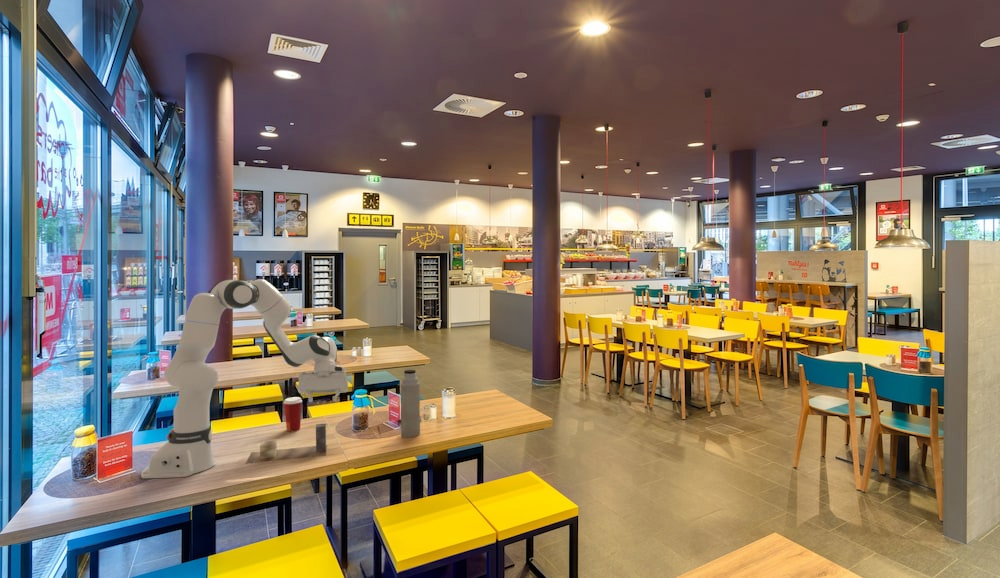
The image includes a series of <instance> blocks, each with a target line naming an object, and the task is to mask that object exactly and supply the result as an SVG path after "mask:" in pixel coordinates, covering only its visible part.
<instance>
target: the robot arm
mask: <svg viewBox="0 0 1000 578" xmlns="http://www.w3.org/2000/svg"><path fill="white" fill-rule="evenodd" d="M249 306H252V307H254V308H255V310H256V311H257V312H258V313H259V314H260V315H261V317H262V319H263V322H262V323H263V327H264V329H265V331H266V333H267V334H268V336H269V338H270V339H271V340H272V342H273V343H274V345H275V346H276V348H277V349H278V350H279V352H280V353H281V355H282V358H283V360H284V362H286V364H287V365H288V366H290V367H294V368H299V367H300V366H302V365H304V364H306V363H308V362H310V361H314V365H313V371H310V372H309V371H308V372H304V371H303V372H300V374H299V375H298V377H297V378H298V379H297V380H298V384H297V391H298V393H299V394H306V397H307V398H308V399H307V401H308V403H313V396H311V394H321V393H322V394H325V393H326V394H328V393H329V394H330V393H332V394H333V393H335V395H332V402H337V398H338V397H339V396H340V393H347V392H348V391H349V379H348V376H347V372H346V368H345V367H343V366H340V365H337V364H336V360H337V347H336V342H335V340H334V339H333V338H332V337H330V336H322V337H321V336H319V335H317V334H312V335H310V336H307V337H305V338H303V339H301V340H298V341H297V342H294V341H293V342H292V341H291V340H290V339H289V338H288V336H287V334H286V333H285V331H284V330H283V328H282V325H283V324H284V323H285V321H287V319H288V318H289V315H290V313H291V304H290V302H289V301H288V300H287V298H286V297H285V296H284V295H283V294H282V293H281V292H280V291H279V290H278V288H276V287H275V286H274V285H273V284H272V283H271V282H268V281H267V280H266V279H264V278H258V279H255V280H253V281H251V282H248V281H246V280H241V279H240V280H239V279H238V280H237V279H225V280H221V281H217V282H216V283H215V284H214V285H213V286H212V287H211V289H209V290H208V292H200V293H197V294H195V295H194V296H193V297H192V298H191V301H190V304H189V306H188V308H187V312H186V314H185V319H184V323H183V328H182V331H181V335H180V340H179V343H178V345H177V348H176V350H175V352H174V354H173V356H172V359H171V361H170V363H169V364H167V365H166V367H165V368H164V372H163V376H164V380H165V381H166V382H167V383H168V384H169V385H170V386H171V387H173V388H174V389H178V396H177V401H176V404H175V407H174V408H173V428H172V429H171V430H169V433H168V434H167V435H166V440H167V442H166V443H164V444H163V445H162V446H161V447H160V448H158V449H157V450H156V451H155V452H154V453H152V455H151V457H150V458H149V459H150V460H149V463H148V466H146V467H145V468H144V469H143V470H142V471H141V474H140V478H142V479H164V478H165V479H168V478H186V477H189V476H191V475H194V474H196V473H200V472H204V471H206V470H208V469H211V468H213V467H214V466H215V465H216V460H215V457H214V454H213V448H212V439H213V438H212V437H213V435H212V434H213V433H212V432H213V431H212V426H211V425H210V422H211V421H210V406H211V405H210V403H211V398H212V394H213V390H214V388H215V387H216V386H217V383H218V381H219V374H218V371H216V369H215V368H214V367H212V365H210V364H208V363H206V360H207V357H208V355H209V353H210V352H211V350H212V349H214V347H215V345H216V341H217V337H218V332H219V327H220V322H221V317H222V314H223V312H225V310H226V309H230V310H231V309H232V310H236V309H238V310H239V309H244V308H247V307H249Z"/></svg>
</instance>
